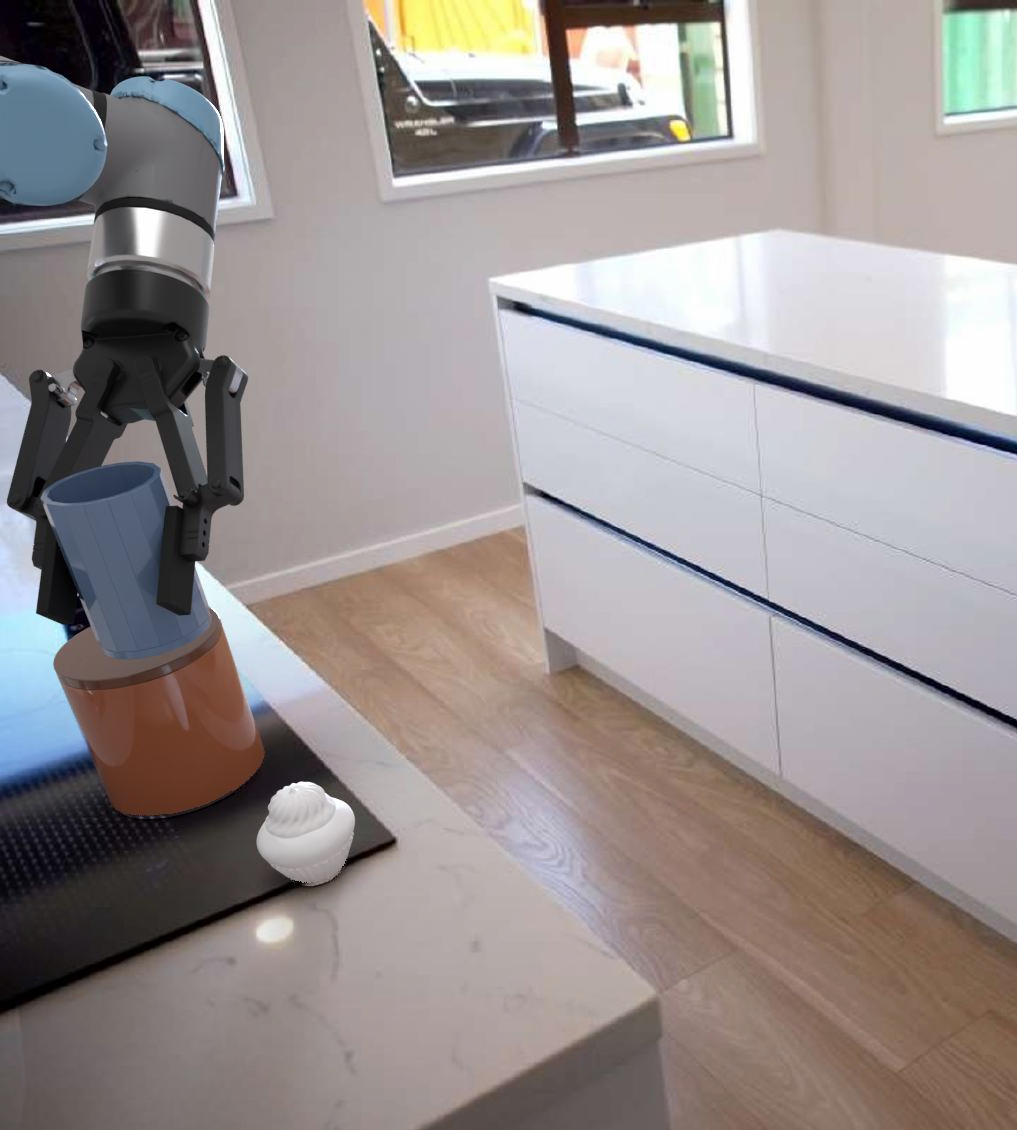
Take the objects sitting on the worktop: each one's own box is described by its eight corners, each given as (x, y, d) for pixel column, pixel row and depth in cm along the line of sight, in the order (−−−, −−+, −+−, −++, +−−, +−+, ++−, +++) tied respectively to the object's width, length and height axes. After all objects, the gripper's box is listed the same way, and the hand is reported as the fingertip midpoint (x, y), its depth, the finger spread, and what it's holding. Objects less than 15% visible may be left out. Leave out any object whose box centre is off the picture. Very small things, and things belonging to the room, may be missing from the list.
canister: (102, 837, 92) (41, 696, 86) (117, 756, 101) (63, 624, 96) (265, 793, 95) (217, 654, 90) (265, 719, 104) (222, 589, 99)
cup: (95, 669, 82) (32, 514, 77) (107, 623, 88) (50, 475, 83) (209, 643, 84) (155, 490, 79) (214, 599, 90) (164, 453, 85)
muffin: (263, 866, 88) (233, 783, 84) (353, 830, 90) (328, 748, 87) (282, 916, 83) (252, 830, 80) (377, 876, 86) (351, 792, 83)
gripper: (315, 308, 92) (295, 617, 85) (41, 330, 92) (-2, 640, 85) (266, 251, 85) (240, 584, 78) (-31, 275, 85) (-84, 610, 78)
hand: (114, 613), depth 81 cm, fingers closed on cup, 7 cm apart
